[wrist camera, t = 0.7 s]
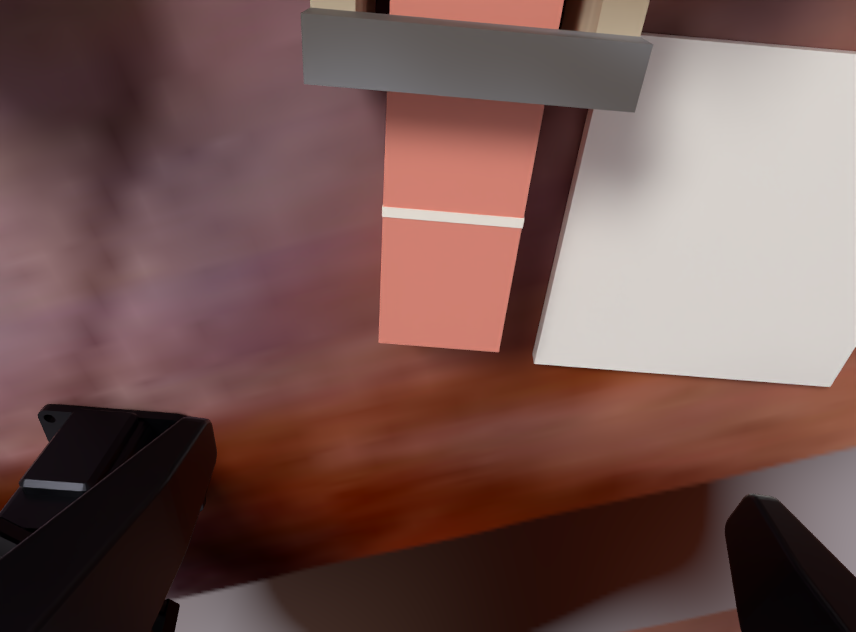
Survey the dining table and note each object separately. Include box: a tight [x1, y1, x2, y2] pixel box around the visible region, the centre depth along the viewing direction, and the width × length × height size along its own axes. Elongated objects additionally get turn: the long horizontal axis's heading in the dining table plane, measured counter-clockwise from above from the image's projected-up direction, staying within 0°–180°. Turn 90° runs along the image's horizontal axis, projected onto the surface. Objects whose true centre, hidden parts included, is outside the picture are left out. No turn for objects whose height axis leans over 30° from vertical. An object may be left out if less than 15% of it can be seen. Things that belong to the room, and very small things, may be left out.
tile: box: [532, 32, 856, 387], centre depth 20 cm, size 12×12×1 cm
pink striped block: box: [379, 0, 564, 352], centre depth 16 cm, size 14×4×4 cm, turn 176°
